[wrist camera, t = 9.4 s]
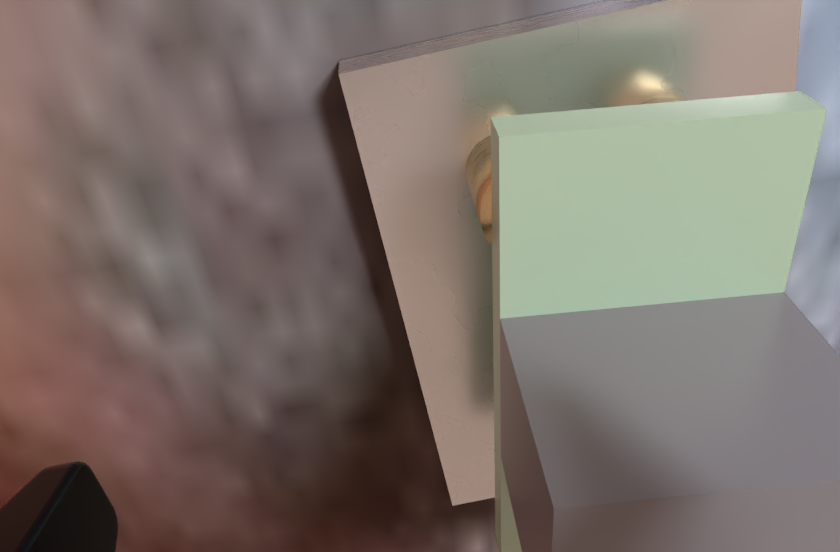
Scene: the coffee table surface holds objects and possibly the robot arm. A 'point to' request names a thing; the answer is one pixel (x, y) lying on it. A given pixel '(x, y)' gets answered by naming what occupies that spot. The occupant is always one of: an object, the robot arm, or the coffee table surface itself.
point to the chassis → (471, 159)
